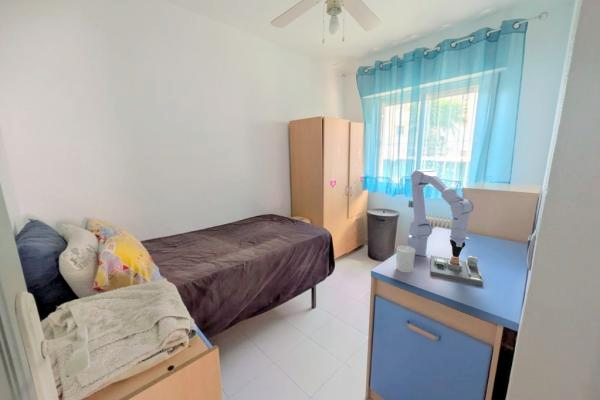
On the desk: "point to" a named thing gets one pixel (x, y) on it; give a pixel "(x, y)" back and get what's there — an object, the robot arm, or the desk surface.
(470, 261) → the grey boxy piece
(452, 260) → the push button
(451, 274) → the panel
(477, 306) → the desk surface
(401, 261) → the white cup
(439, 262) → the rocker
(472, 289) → the desk surface
